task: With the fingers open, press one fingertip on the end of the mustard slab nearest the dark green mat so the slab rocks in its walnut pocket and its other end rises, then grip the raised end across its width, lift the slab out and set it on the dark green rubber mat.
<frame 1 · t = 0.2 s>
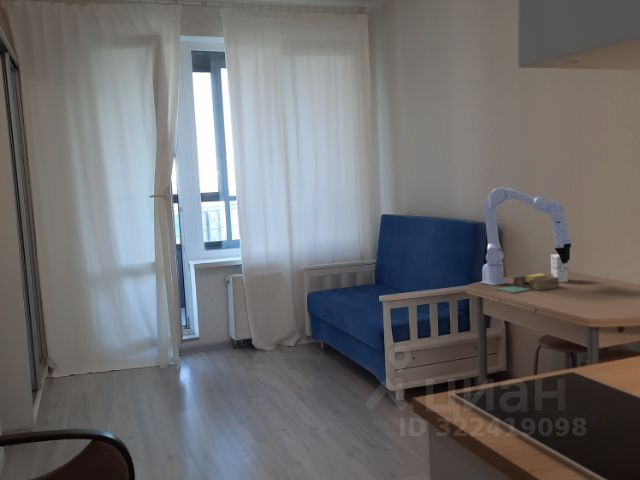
hand: (565, 261, 270), 10 cm above the table, tool pointing down, fingers open, 7 cm apart
mat: (513, 290, 268), on the table
pocket board: (536, 286, 273), on the table
slab: (536, 281, 273), point 2 cm above the table, touching pocket board
ink cartridge box: (559, 281, 283), on the table
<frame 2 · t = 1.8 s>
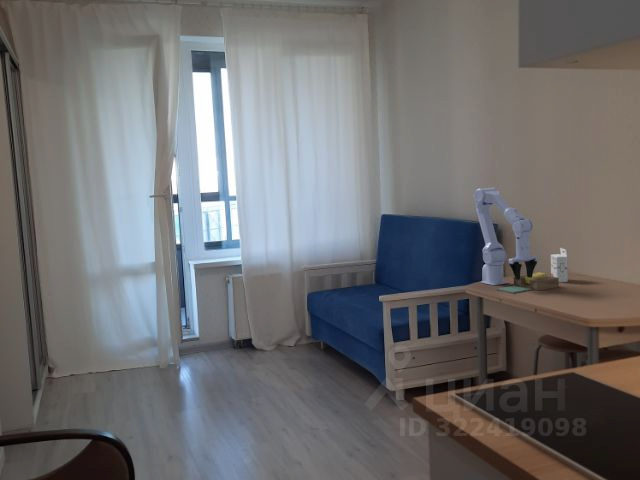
hand: (523, 278, 270), 4 cm above the table, tool pointing down, fingers open, 6 cm apart
slab: (536, 281, 273), point 2 cm above the table, tilted 9°, touching gripper, pocket board
everything else where it was.
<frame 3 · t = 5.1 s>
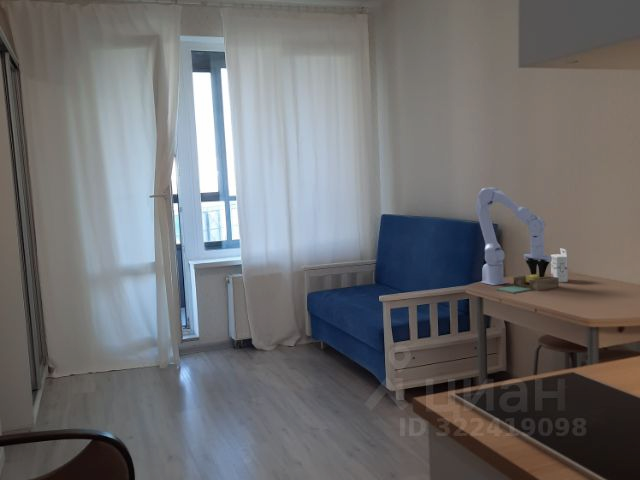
hand: (537, 276, 273), 4 cm above the table, tool pointing down, fingers closed on slab, 4 cm apart
slab: (536, 281, 273), point 2 cm above the table, touching gripper, pocket board
everything else where it was.
when the fingers open (5 cm above the table, at t = 8.6 s): slab drops 2 cm, resting on mat.
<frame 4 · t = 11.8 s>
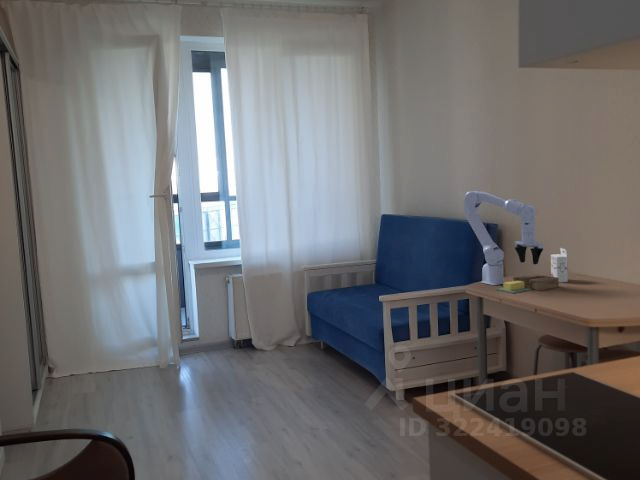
hand: (529, 263, 276), 10 cm above the table, tool pointing down, fingers open, 7 cm apart
slab: (514, 288, 268), point 1 cm above the table, touching mat
everything else where it was.
at the end: slab inside the target area on the mat (0.9 cm from its centre), point 0.6 cm above the mat's base; the gripper is holding nothing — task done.
